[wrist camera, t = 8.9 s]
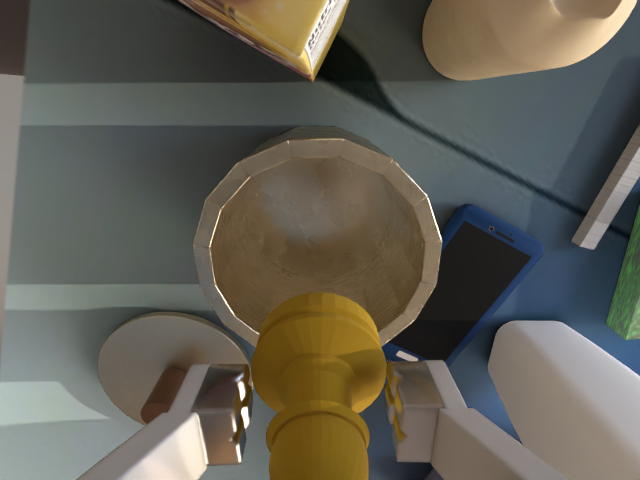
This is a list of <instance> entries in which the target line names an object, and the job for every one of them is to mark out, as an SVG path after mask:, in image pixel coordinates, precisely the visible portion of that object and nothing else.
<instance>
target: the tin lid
mask: <svg viewBox="0 0 640 480" xmlns="http://www.w3.org/2000/svg"><path fill="white" fill-rule="evenodd" d="M193 364H248V365H249V369H250V379H249V383H248V384H249V385H250V386H251V387H252V392H253V386H254V385H253V382H252V377H251V361H250V358H249V357H248V355H247V353H246V351H245V350H244V348H243V347H242V346H241V344H240V343H239V342H238V341H237V340H236V339H235V338H234V337H233V336H232V335H231V334H229V333H228V332H227V331H226V330H224V329H223V328H221V327H220V326H218V325H216V324H214V323H212V322H210V321H208V320H206V319H203V318H201V317H198V316H194V315H190V314H186V313H179V312H154V313H148V314H144V315H141V316H138V317H135V318H133V319H131V320H128V321H126V322H125V323H123V324H122V325H120V326H119V327H118V328H117V329H116V330H115V331H114V332H113V333H112V334H111V335H110V336H109V337H108V339H107V340H106V341H105V343H104V344H103V346H102V348H101V351H100V354H99V358H98V374H99V378H100V382H101V384H102V387H103V389H104V391H105V392H106V394H107V396H108V397H109V398H110V400H111V401H112V402H113V403H114V404H115V405H116V406H117V407H118V408H119V409H120V410H121V411H122V412H124V413H125V414H126V415H127V416H129V417H131V418H132V419H134V420H135V421H137V422H139V423H141V424H143V425H147V424H148V423H150V422H151V421H152V420H154V419H155V418H156V417H158V416H159V415H160V414H161V413H168V411H169V409H170V407H171V405H172V403H173V401H174V399H175V397H176V395H177V393H178V391H179V389H180V387H181V385H182V383H183V381H184V379H185V377H186V375H187V373H188V371H189V369H190V367H191V366H192V365H193Z"/></svg>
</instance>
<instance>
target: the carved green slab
mask: <svg viewBox="0 0 640 480" xmlns="http://www.w3.org/2000/svg"><path fill="white" fill-rule="evenodd" d="M606 325H607V326H609V327H610V328H611V329H612V330H614V331H615V332H616V333H618V334H619V335H620V336H622V337H623V338H624V339H625V340H627V339H640V204H639V207H638V211H637V214H636V218H635V222H634V225H633V229H632V232H631V236H630V239H629V243H628V246H627V250H626V253H625V257H624V261H623V264H622V268H621V271H620V275H619V278H618V282H617V285H616V289H615V293H614V296H613V300H612V303H611V307H610V310H609V314H608V317H607V321H606Z"/></svg>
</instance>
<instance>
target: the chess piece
mask: <svg viewBox="0 0 640 480" xmlns="http://www.w3.org/2000/svg"><path fill="white" fill-rule="evenodd" d="M386 369H387V364H386V360H385V355H384V353H383V351H382V348H381V344H380V340H379V336H378V332H377V328H376V326H375V324H374V322H373V320H372V318H371V317H370V315H369V314H368V313H367V312H366V311H365V310H364V309H363V308H362V307H361V306H359V305H358V304H357V303H355V302H353V301H352V300H350V299H348V298H346V297H343V296H339V295H336V294H331V293H323V292H318V293H307V294H302V295H297V296H295V297H293V298H290V299H288V300H286V301H284V302H283V303H281V304H280V305H278V306H277V307H276V308H275V309H274V310H272V311H271V312H270V313H269V315H268V316H267V318H266V319H265V321H264V322H263V325H262V328H261V330H260V333H259V337H258V341H257V345H256V349H255V352H254V355H253V358H252V363H251V377H252V382H253V385H254V387H255V389H256V392H257V393H258V395H259V396H260V397H261V399H262V400H263V401H264V402H265V403H266V404H267V405H268V406H269V407H270V408H271V409H273V410H275V411H276V412H278V414H277V415H275V417H274V418H273V419H272V421H271V422H270V423H269V426H268V428H267V432H266V442H267V446H268V448H269V451H270V452H271V455H270V463H269V474H270V480H368V475H369V461H368V454H367V451H366V450H367V448H368V445H369V436H370V434H369V430H368V427H367V425H366V423H365V421H364V420H363V419H362V418H361V417H360V415H359V414H358V413H360V412H362V411H363V410H364V409H366V408H367V407H368V406H369V405H371V404H372V403H373V401H374V400H375V399H376V398H377V397H378V396H379V394H380V392H381V390H382V388H383V386H384V383H385V379H386Z"/></svg>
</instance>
